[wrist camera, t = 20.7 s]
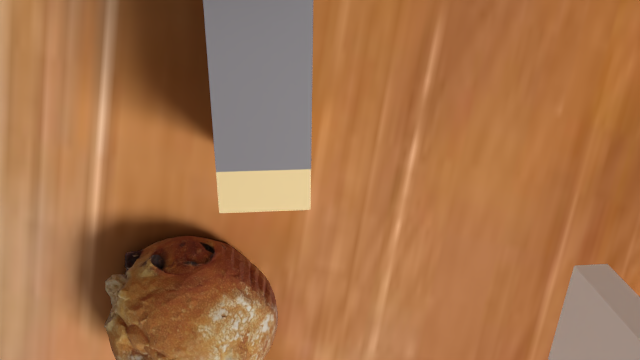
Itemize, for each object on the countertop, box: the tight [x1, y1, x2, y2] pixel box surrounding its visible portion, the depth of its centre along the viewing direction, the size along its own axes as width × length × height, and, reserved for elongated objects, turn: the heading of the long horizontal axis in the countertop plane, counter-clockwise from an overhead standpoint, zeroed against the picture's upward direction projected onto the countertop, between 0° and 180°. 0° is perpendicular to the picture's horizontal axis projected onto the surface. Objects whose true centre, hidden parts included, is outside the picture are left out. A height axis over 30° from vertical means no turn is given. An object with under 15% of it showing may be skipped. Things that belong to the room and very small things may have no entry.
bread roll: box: [104, 236, 278, 360], centre depth 32 cm, size 10×10×8 cm
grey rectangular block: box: [203, 0, 313, 213], centre depth 23 cm, size 4×16×7 cm, turn 179°
